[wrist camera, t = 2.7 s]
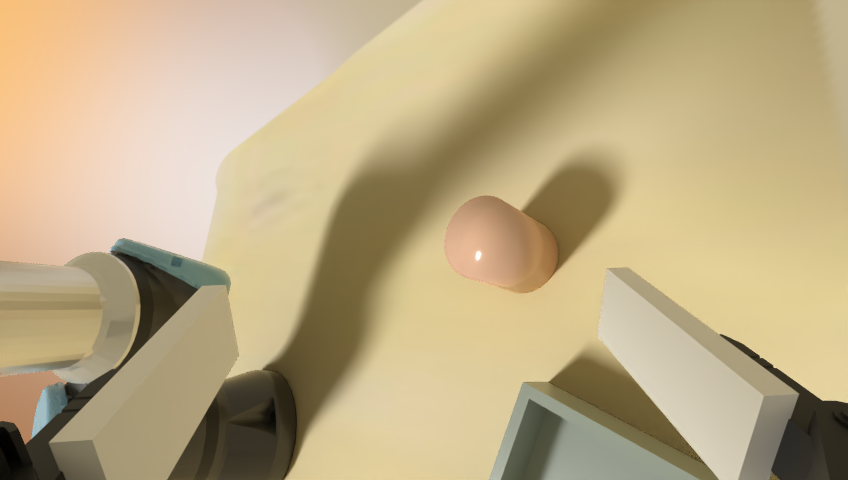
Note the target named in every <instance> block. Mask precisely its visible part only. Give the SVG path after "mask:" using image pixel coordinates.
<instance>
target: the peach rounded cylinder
mask: <svg viewBox="0 0 848 480" xmlns="http://www.w3.org/2000/svg"><path fill="white" fill-rule="evenodd" d="M445 254H446V257H447V260H448V262H449V264H450V266H451V267H452V268H453V270H454V271H455V272H457V273H458V274H459V275H461V276H463V277H466V278H469V279H473V280H476V281H479V282H482V283H486V284H489V285H492V286H496V287H499V288H502V289H505V290H509V291H512V292H515V293H528V292H532V291H534V290H537V289H538V288H540V287H542V286H543V285H544V284H545V283H546V282H547V281H548V280H549V279H550V278H551V276H552V275H553V273H554V271H555V269H556V266H557V263H558V257H559V250H558V244H557V241H556V238H555V236H554V235H553V233H552V232H551V231H550V230H549V229H548V228H547V227H546V226H544V225H543V224H541V223H539V222H538V221H536V220H534V219H533V218H531V217H529V216H528V215H526V214H524V213H523V212H521V211H519V210H518V209H516V208H514V207H513V206H511V205H509V204H508V203H506V202H504V201H503V200H501V199H499V198H497V197H493V196H480V197H476V198H473V199H471V200H469V201H468V202H466V203H465V204H464V205H462V206H461V207H460V208H459V209H458V210H457V212H456V213H455V214H454V216H453V217H452V219H451V221H450V222H449V225H448V227H447V231H446V235H445Z"/></svg>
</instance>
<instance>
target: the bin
mask: <svg viewBox="0 0 848 480" xmlns="http://www.w3.org/2000/svg"><path fill="white" fill-rule="evenodd" d="M489 480H719V479H718V478H717V476H716V475H715V474H714V473H713V472H712V470H711V469H710V468H709V467H708V466H707V465H705V464H703V463H701V462H699V461H698V460H696V459H694V458H692V457H690V456H688V455H686V454H684V453H682V452H680V451H679V450H677V449H675V448H673V447H671V446H669V445H667V444H665V443H663V442H661V441H659V440H658V439H656V438H654V437H652V436H650V435H648V434H646V433H644V432H642V431H640V430H639V429H637V428H635V427H633V426H631V425H629V424H627V423H625V422H623V421H621V420H620V419H618V418H616V417H614V416H612V415H610V414H608V413H606V412H604V411H602V410H601V409H599V408H597V407H595V406H593V405H591V404H589V403H587V402H585V401H583V400H582V399H580V398H578V397H576V396H574V395H572V394H570V393H568V392H566V391H564V390H562V389H561V388H559V387H557V386H555V385H553V384H551V383H549V382H523V384H522V386H521V389H520V392H519V395H518V398H517V401H516V404H515V407H514V409H513V412H512V415H511V418H510V421H509V424H508V427H507V430H506V432H505V435H504V438H503V441H502V444H501V447H500V450H499V452H498V455H497V458H496V461H495V464H494V467H493V470H492V473H491V475H490V478H489Z"/></svg>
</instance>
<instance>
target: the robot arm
mask: <svg viewBox="0 0 848 480" xmlns="http://www.w3.org/2000/svg"><path fill="white" fill-rule="evenodd" d="M110 252H111V254H109V253H101V252H95V253H93V252H92V253H86V254H83V255H80V256H78V257H76V258H74V259H72V260H71V261H70V262H68V263H67V264H66V265H65V266H54V265H43V264H31V263H19V262H7V261H0V377H2V376H10V375H18V374H25V373H33V372H40V371H48V370H52V371H53V372H54V373H55V374H56V375H57V376H58V377H60V378H61V379H63V380H65V381H67V383H66V384H63V383H56V384H54V385H49V386H47V387H46V388H44V390H43V391H42V394H41V397H40V399H39V401H38V405H37V409H36V414H35V419H34V424H33V431H32V438H31V440H30V441H29V442H28V443H27V444H26V445H25V444H24V441H23V439H22V437H21V434H20V432H19V430H18V428H17V427H16V425H15V424H14V423H10V422H4V421H1V422H0V480H282V479H283V477H284V475H285V473H286V471H287V468H288V466H289V463H290V460H291V456H292V452H293V447H294V441H295V431H296V415H295V406H294V401H293V396H292V393H291V390H290V388H289V386H288V384H287V382H286V380H285V379H284V378H283V376H282V375H280V374H279V373H278V372H275V371H271V370H255V371H250V372H247V373H244V374H241V375H237V376H234V377H231V378H228V379H226V377H227V375H228V374H229V372H230V370H231V368H232V367H233V365H234V363H235V361H236V360H237V358H238V356H239V352H238V346H237V341H236V336H235V330H234V325H233V320H232V314H231V309H230V304H229V299H228V294H229V290H230V286H231V281H230V277H229V276H228V274H227V273H226V272H225V271H223V270H221V269H219V268H216V267H214V266H211V265H208V264H205V263H202V262H199V261H196V260H193V259H190V258H187V257H184V256H181V255H178V254H175V253H171V252H168V251H165V250H162V249H158V248H156V247H152V246H149V245H146V244H143V243H140V242H136V241H133V240H129V239H125V238H123V239H119V240H118V241H117V242H116V243H115V245H114V246H112V247H111V251H110ZM597 336H598V337H599V338H600V340H601V341H602V342H603V343H604V344H605V346H606V347H607V348H608V349H609V350H610V351H611V353H612V354H613V355H614V356H615V357H616V358H617V360H618V361H619V362H620V363H621V364H622V366H623V367H624V368H625V369H626V370H627V371H628V373H629V374H630V375H631V376H632V377H633V379H634V380H635V381H636V382H637V383H638V384H639V386H640V387H641V388H642V389H643V390H644V391H645V393H646V394H647V395H648V396H649V397H650V399H651V400H652V401H653V402H654V403H655V404H656V406H657V407H658V408H659V409H660V410H661V412H662V413H663V414H664V415H665V416H666V417H667V419H668V420H669V421H670V422H671V423H672V424H673V426H674V427H675V428H676V429H677V430H678V432H679V433H680V434H681V435H682V436H683V437H684V439H685V440H686V441H687V442H688V443H689V445H690V446H691V447H692V448H693V449H694V450H695V452H696V453H697V454H698V455H699V456H700V457H701V459H702V460H703V461H704V462H705V463H706V465H707V466H708V467H709V468H710V469H711V470H712V472H713V473H714V474H715V475H716V476H717V478H718V479H719V480H769V479H770V477H771V474H772V472H773V473H774V474H775V475H776V476H777V477H778V478H779V479H780V480H848V403H844V402H839V401H822V400H821V399H819V398H818V397H816V396H815V395H814V394H812V393H811V392H809V391H808V390H807V389H805V388H804V387H802V386H801V385H800V384H798V383H797V382H795V381H794V380H793V379H791V378H790V377H788V376H787V375H786V374H784V373H783V372H781V371H780V370H779V369H777V368H773V365H772V364H770V363H769V362H767V361H766V360H765V359H763V358H760V356H759V355H758V354H756V353H755V352H753V351H752V350H751V349H749V348H748V347H746V346H745V345H744V344H742V343H740V342H737V341H735V340H733V339H731V338H729V337H727V336H724V335H722V334H720V335H719V334H717V333H716V332H715V331H713V330H712V329H711V328H709V327H708V326H707V325H705V324H704V323H702V322H701V321H700V320H698V319H697V318H696V317H694V316H693V315H692V314H690V313H689V312H688V311H686V310H685V309H683V308H682V307H681V306H679V305H678V304H677V303H675V302H674V301H673V300H671V299H670V298H669V297H667V296H666V295H664V294H663V293H662V292H660V291H659V290H658V289H656V288H655V287H654V286H652V285H651V284H650V283H648V282H647V281H646V280H644V279H643V278H641V277H640V276H639V275H637V274H636V273H635V272H633V271H632V270H631V269H629V268H628V267H627V268H607V272H606V279H605V286H604V293H603V300H602V307H601V314H600V321H599V328H598V335H597Z"/></svg>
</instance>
